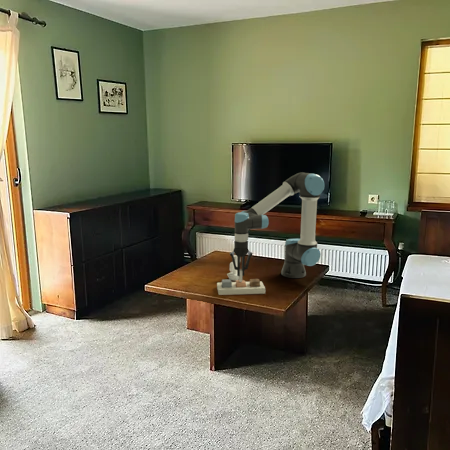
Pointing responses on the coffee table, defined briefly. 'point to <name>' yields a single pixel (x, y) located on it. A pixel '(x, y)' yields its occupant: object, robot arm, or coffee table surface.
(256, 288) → the key block
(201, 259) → the coffee table surface
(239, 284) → the terracotta key
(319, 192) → the robot arm
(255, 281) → the walnut key
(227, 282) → the slate key
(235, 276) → the figurine
